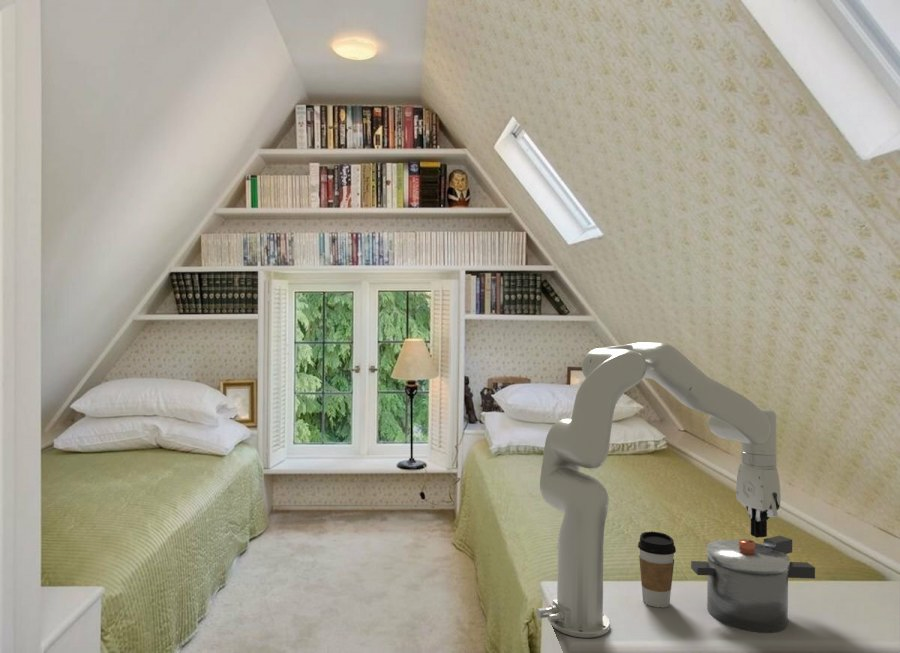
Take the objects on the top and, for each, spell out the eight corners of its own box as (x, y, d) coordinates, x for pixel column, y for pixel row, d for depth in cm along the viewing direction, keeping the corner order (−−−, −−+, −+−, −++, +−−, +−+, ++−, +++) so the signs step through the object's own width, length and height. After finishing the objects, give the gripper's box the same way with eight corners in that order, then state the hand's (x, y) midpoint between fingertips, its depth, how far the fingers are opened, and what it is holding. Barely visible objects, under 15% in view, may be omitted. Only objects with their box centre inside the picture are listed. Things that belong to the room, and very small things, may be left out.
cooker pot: (707, 630, 125) (708, 572, 126) (681, 597, 141) (681, 546, 142) (832, 635, 124) (832, 577, 125) (791, 601, 140) (791, 549, 141)
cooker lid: (757, 579, 122) (757, 559, 122) (690, 553, 137) (690, 535, 137) (822, 562, 132) (822, 544, 132) (753, 539, 147) (753, 523, 147)
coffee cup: (670, 595, 143) (670, 531, 143) (680, 611, 134) (680, 544, 134) (633, 593, 143) (634, 530, 144) (641, 609, 135) (642, 542, 135)
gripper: (724, 454, 151) (724, 527, 151) (768, 467, 137) (768, 547, 136) (750, 453, 153) (750, 525, 152) (796, 465, 138) (796, 545, 138)
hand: (758, 535), depth 144 cm, fingers closed
